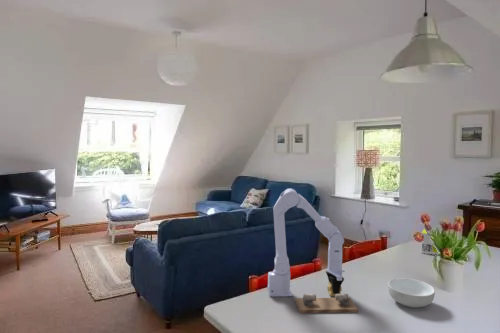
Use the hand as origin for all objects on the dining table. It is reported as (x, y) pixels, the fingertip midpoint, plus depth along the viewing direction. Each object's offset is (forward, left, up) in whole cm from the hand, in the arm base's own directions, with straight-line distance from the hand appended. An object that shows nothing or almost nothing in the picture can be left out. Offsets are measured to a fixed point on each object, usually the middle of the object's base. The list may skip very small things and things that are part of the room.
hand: (334, 291), depth 148 cm
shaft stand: (-7, -11, -1) cm, 13 cm away
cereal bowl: (+28, -9, -2) cm, 29 cm away
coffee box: (+75, +57, -2) cm, 94 cm away
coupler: (0, 0, -1) cm, 1 cm away
